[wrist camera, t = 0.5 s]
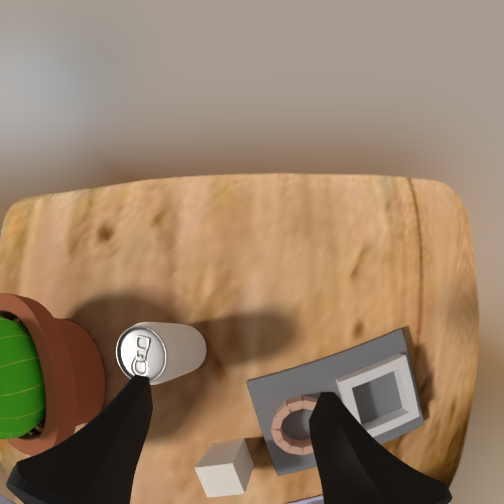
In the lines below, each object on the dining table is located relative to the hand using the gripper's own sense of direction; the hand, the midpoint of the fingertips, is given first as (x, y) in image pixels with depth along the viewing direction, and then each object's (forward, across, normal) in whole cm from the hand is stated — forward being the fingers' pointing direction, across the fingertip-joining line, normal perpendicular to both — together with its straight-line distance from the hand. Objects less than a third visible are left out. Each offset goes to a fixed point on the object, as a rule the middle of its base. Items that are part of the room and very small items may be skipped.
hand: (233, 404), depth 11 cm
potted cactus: (+22, +25, +25) cm, 41 cm away
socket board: (+15, -15, +17) cm, 27 cm away
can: (+22, +5, +15) cm, 27 cm away
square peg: (+13, -2, +26) cm, 29 cm away
